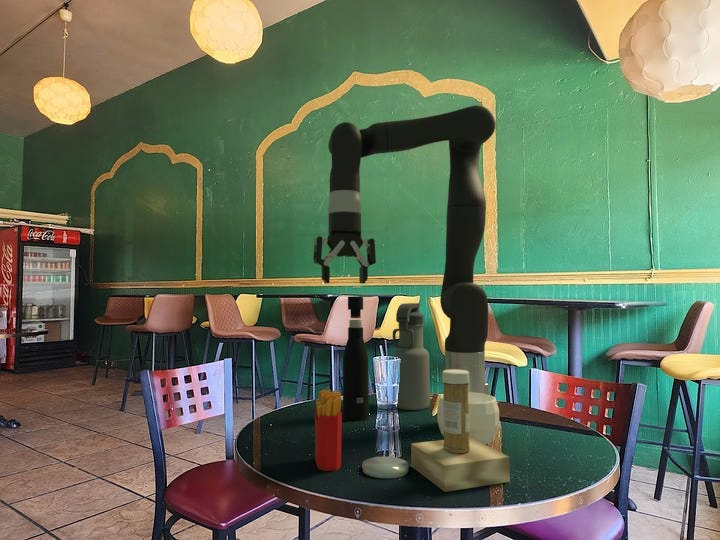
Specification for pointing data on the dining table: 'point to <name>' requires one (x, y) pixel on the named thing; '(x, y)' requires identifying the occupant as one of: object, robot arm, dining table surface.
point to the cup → (478, 416)
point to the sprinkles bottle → (456, 410)
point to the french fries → (328, 430)
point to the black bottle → (355, 367)
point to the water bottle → (412, 359)
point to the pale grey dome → (385, 467)
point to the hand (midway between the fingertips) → (344, 283)
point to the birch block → (460, 465)
